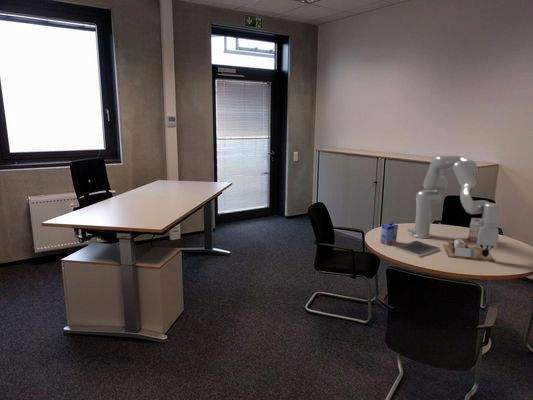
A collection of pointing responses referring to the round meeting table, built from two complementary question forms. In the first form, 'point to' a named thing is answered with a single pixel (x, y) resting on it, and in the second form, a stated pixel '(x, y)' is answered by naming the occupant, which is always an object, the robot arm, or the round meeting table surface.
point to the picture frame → (417, 248)
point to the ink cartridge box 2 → (474, 229)
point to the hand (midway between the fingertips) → (485, 256)
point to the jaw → (459, 244)
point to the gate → (464, 252)
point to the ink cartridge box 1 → (389, 233)
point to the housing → (477, 250)
